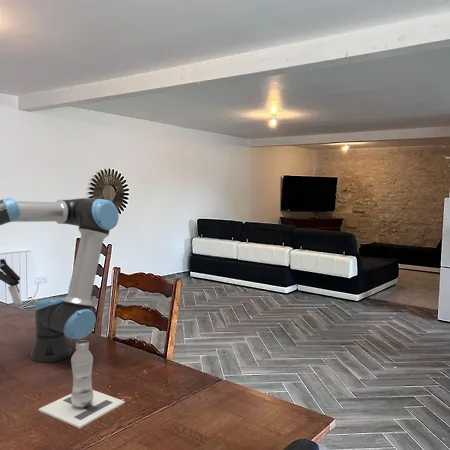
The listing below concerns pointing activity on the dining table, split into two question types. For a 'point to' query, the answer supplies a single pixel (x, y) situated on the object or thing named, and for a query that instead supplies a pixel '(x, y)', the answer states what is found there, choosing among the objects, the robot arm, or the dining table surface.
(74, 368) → the plastic bottle
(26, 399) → the dining table surface
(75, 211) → the robot arm
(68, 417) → the letter board
